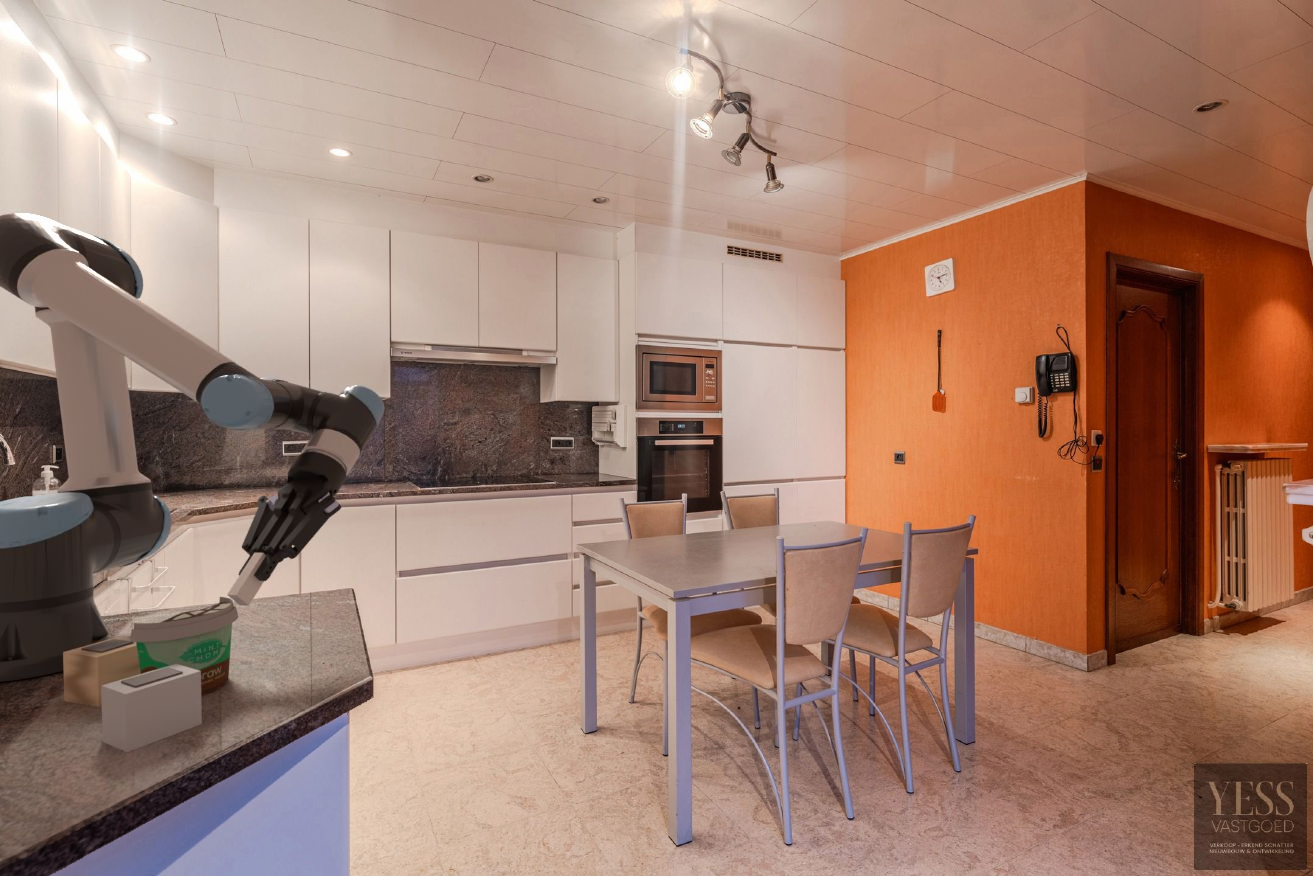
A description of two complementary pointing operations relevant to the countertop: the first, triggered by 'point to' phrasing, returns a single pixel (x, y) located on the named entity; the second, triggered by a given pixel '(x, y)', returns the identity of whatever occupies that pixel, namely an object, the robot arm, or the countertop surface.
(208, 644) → the food container
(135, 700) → the grey painted block
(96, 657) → the oak block
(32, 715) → the countertop surface
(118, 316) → the robot arm
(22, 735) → the countertop surface
